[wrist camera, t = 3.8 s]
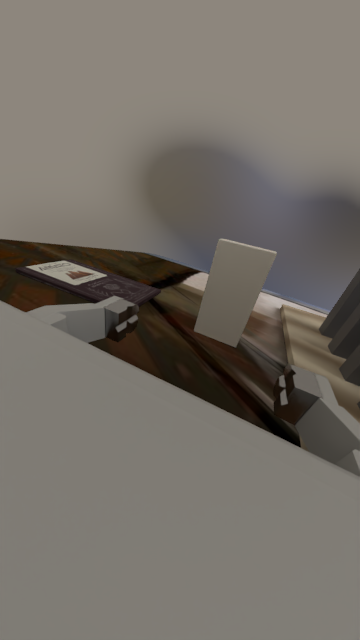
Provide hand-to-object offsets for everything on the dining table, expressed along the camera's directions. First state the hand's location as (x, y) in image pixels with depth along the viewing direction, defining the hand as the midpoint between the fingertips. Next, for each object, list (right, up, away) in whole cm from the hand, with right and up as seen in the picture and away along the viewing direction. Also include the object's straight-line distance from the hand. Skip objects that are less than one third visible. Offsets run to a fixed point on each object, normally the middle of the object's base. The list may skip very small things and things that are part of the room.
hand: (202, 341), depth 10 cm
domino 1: (+3, -1, +12) cm, 12 cm away
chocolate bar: (-14, +6, +18) cm, 24 cm away
